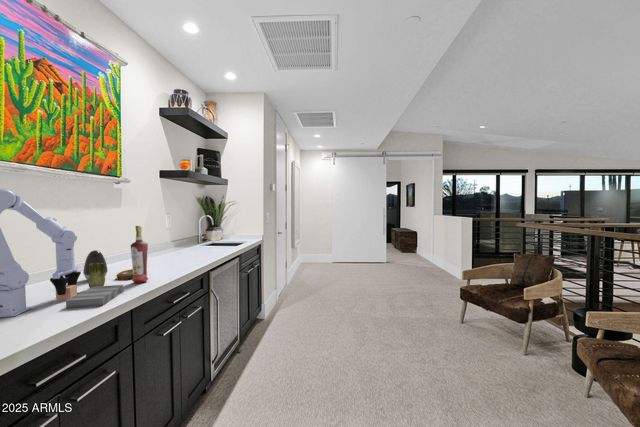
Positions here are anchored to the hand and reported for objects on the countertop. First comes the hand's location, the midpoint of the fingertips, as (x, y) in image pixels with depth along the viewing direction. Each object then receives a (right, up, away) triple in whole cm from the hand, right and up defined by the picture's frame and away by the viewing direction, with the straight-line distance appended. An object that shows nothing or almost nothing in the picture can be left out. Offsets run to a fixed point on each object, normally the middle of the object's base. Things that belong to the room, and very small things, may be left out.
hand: (66, 292), depth 126 cm
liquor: (+15, -2, +25) cm, 30 cm away
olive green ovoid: (-12, -2, +33) cm, 35 cm away
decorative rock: (+3, -2, +38) cm, 38 cm away
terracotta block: (0, -3, 0) cm, 3 cm away
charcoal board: (+14, -2, -2) cm, 14 cm away
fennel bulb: (+1, -2, +15) cm, 15 cm away
